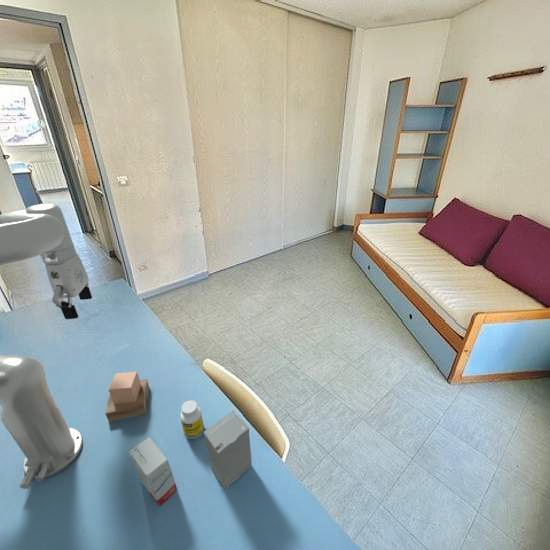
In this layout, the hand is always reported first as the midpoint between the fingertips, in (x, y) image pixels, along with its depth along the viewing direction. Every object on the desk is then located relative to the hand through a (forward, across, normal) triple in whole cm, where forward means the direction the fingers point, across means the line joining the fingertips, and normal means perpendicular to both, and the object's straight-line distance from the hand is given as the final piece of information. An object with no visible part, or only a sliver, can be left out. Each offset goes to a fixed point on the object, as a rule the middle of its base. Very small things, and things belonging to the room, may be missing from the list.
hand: (79, 308), depth 86 cm
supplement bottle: (+28, -23, -30) cm, 47 cm away
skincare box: (+28, -35, -40) cm, 60 cm away
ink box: (+28, -36, -23) cm, 51 cm away
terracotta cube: (+25, -11, -10) cm, 29 cm away
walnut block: (+29, -11, -10) cm, 32 cm away
